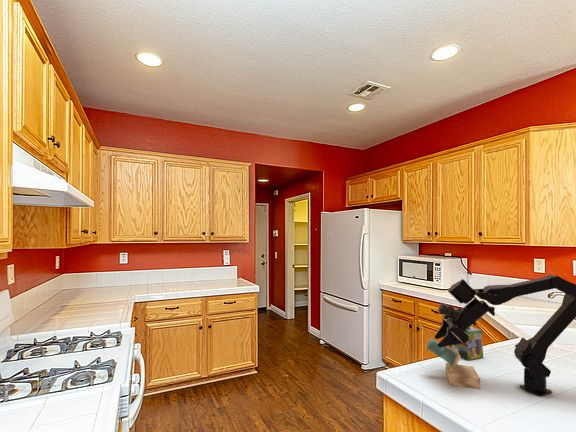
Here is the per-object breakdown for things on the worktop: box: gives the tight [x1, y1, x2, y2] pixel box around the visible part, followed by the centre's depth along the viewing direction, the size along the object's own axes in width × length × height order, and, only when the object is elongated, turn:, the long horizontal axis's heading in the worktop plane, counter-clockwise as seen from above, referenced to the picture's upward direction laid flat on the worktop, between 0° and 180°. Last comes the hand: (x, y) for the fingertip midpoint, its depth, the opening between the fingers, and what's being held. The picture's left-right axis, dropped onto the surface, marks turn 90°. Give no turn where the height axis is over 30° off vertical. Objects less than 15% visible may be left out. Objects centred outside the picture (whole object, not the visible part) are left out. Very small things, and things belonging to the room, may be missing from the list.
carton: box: [445, 362, 481, 390], centre depth 114 cm, size 9×10×4 cm
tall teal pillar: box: [426, 337, 462, 372], centre depth 116 cm, size 6×8×10 cm
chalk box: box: [449, 325, 484, 361], centre depth 137 cm, size 9×9×15 cm
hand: (436, 342), depth 117 cm, fingers open, 9 cm apart
